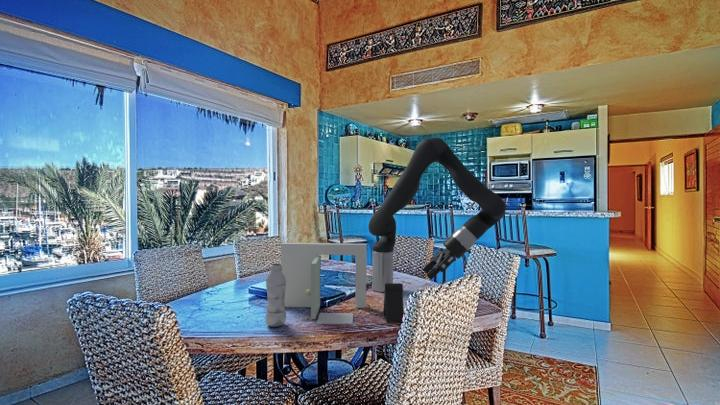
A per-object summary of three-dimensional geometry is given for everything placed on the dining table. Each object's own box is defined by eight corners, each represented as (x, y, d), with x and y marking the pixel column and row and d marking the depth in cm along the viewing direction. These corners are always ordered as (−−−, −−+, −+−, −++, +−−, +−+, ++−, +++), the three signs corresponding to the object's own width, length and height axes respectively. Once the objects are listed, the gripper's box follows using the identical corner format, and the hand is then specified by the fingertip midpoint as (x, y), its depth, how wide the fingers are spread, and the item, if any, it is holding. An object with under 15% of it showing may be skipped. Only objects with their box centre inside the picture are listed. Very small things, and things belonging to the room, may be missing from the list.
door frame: (282, 305, 145) (282, 242, 144) (365, 306, 145) (366, 243, 144) (269, 323, 126) (269, 251, 125) (366, 324, 126) (366, 252, 125)
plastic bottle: (267, 322, 127) (267, 262, 126) (287, 321, 128) (287, 262, 127) (263, 329, 121) (263, 267, 120) (285, 329, 121) (285, 266, 121)
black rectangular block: (403, 322, 129) (404, 287, 128) (386, 322, 128) (386, 287, 128) (399, 313, 138) (400, 280, 137) (383, 313, 137) (383, 280, 137)
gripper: (448, 231, 139) (416, 262, 139) (457, 237, 124) (422, 271, 125) (462, 246, 139) (430, 277, 139) (473, 253, 125) (437, 287, 125)
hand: (426, 274), depth 132 cm, fingers open, 8 cm apart
